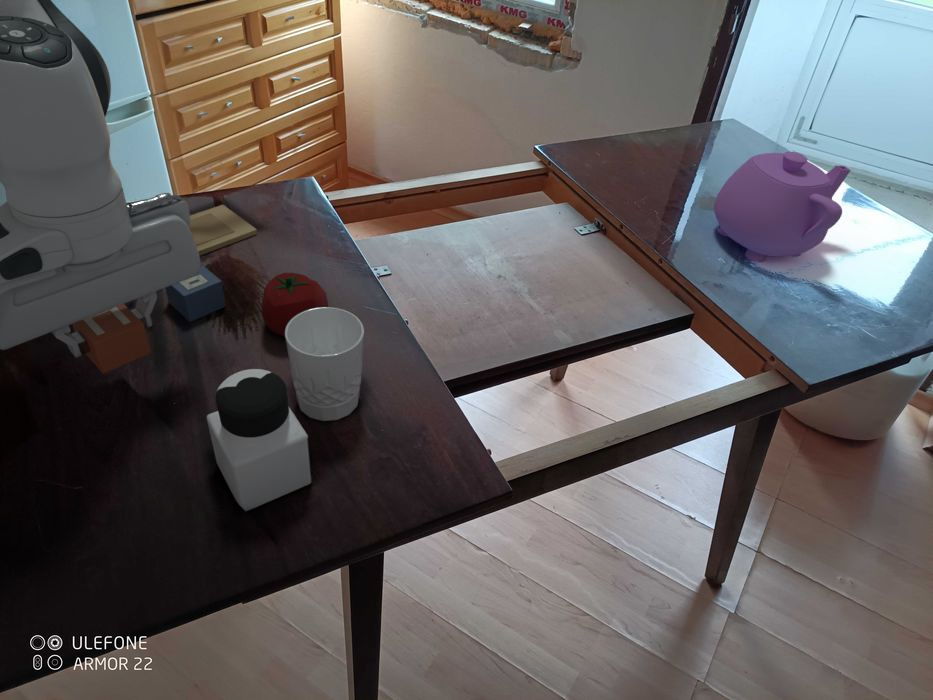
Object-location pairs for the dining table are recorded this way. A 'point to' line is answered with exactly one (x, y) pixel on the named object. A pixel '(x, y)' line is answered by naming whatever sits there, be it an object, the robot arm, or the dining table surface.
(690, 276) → the dining table surface
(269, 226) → the dining table surface
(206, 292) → the tile
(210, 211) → the word board
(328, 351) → the white cup
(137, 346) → the tile
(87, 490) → the dining table surface
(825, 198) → the teapot
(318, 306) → the tomato
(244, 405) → the medicine bottle
